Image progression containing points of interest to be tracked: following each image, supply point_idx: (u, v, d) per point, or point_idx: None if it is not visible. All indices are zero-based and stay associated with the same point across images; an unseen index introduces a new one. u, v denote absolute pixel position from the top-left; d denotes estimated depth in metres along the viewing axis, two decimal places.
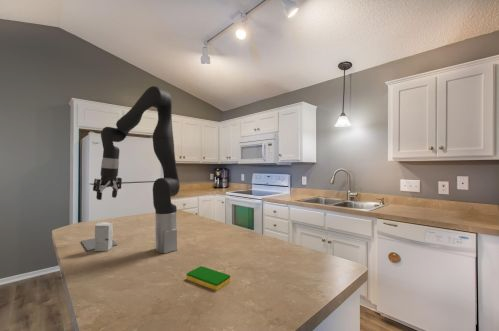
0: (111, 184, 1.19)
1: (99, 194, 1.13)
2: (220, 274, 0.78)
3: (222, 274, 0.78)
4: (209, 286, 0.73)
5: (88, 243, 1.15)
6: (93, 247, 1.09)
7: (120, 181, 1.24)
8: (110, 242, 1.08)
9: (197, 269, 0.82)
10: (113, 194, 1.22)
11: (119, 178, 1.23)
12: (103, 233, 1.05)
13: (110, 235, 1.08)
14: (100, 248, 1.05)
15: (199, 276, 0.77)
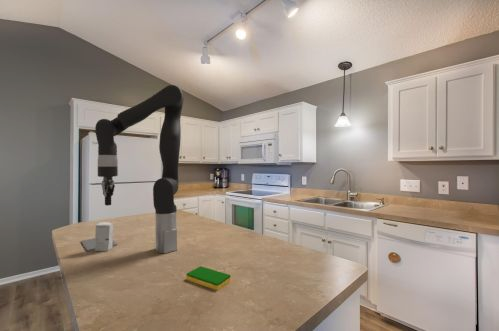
0: None
1: (110, 198, 1.02)
2: (220, 274, 0.78)
3: (222, 274, 0.78)
4: (210, 286, 0.73)
5: (88, 243, 1.15)
6: (93, 247, 1.09)
7: None
8: (110, 242, 1.08)
9: (197, 269, 0.82)
10: None
11: None
12: (104, 233, 1.05)
13: (111, 235, 1.08)
14: (100, 248, 1.06)
15: (199, 276, 0.77)
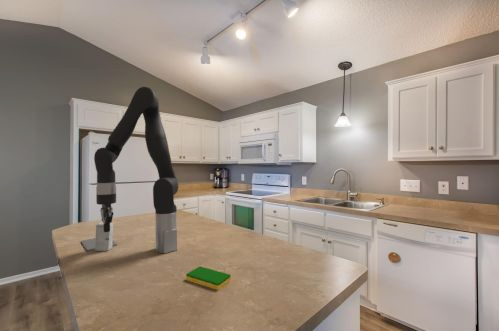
0: None
1: (109, 225, 1.03)
2: (220, 274, 0.78)
3: (222, 274, 0.79)
4: (210, 286, 0.73)
5: (88, 243, 1.15)
6: (93, 247, 1.09)
7: None
8: (110, 242, 1.08)
9: (196, 269, 0.82)
10: None
11: None
12: (104, 233, 1.06)
13: (111, 235, 1.08)
14: (100, 248, 1.06)
15: (199, 276, 0.77)
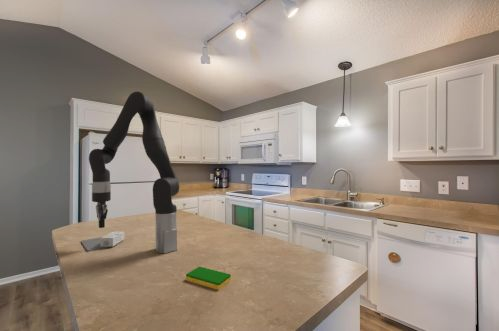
0: None
1: (103, 221, 1.10)
2: (220, 273, 0.79)
3: (222, 273, 0.79)
4: (211, 286, 0.74)
5: (88, 243, 1.15)
6: (93, 247, 1.09)
7: None
8: (116, 240, 1.13)
9: (196, 270, 0.82)
10: None
11: None
12: (116, 233, 1.18)
13: (119, 238, 1.17)
14: (107, 237, 1.11)
15: (199, 276, 0.77)
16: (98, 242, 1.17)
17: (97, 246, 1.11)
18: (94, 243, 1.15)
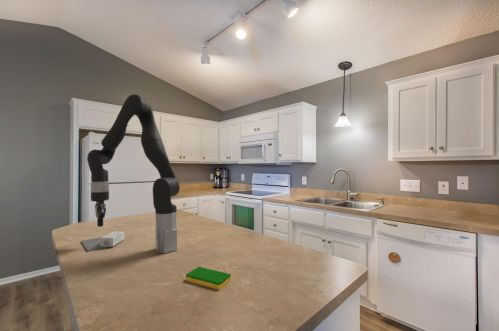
0: None
1: (102, 220, 1.13)
2: (220, 273, 0.79)
3: (222, 273, 0.79)
4: (211, 286, 0.74)
5: (88, 243, 1.15)
6: (93, 247, 1.09)
7: None
8: (116, 240, 1.13)
9: (196, 270, 0.82)
10: None
11: None
12: (116, 233, 1.18)
13: (119, 238, 1.17)
14: (107, 237, 1.11)
15: (199, 276, 0.77)
16: (98, 242, 1.17)
17: (97, 246, 1.11)
18: (94, 243, 1.15)
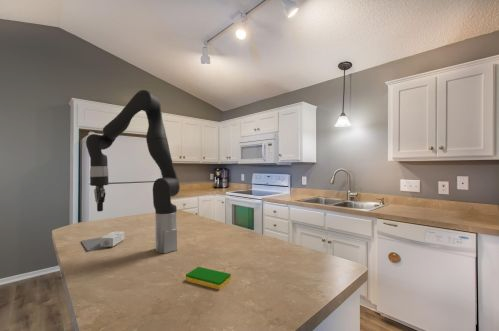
0: None
1: (102, 205, 1.13)
2: (220, 273, 0.79)
3: (222, 273, 0.79)
4: (211, 286, 0.74)
5: (88, 243, 1.15)
6: (93, 247, 1.09)
7: None
8: (116, 240, 1.13)
9: (195, 270, 0.81)
10: None
11: None
12: (116, 233, 1.18)
13: (119, 238, 1.17)
14: (107, 237, 1.11)
15: (200, 276, 0.77)
16: (98, 242, 1.17)
17: (97, 246, 1.11)
18: (94, 243, 1.15)
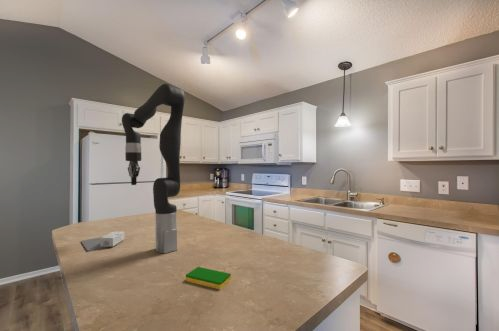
0: None
1: (135, 179, 1.22)
2: (220, 273, 0.79)
3: (222, 273, 0.79)
4: (212, 286, 0.74)
5: (88, 243, 1.15)
6: (93, 247, 1.09)
7: None
8: (116, 240, 1.13)
9: (195, 270, 0.81)
10: None
11: None
12: (116, 233, 1.18)
13: (119, 238, 1.17)
14: (107, 237, 1.11)
15: (200, 277, 0.77)
16: (98, 242, 1.17)
17: (97, 246, 1.11)
18: (94, 243, 1.15)
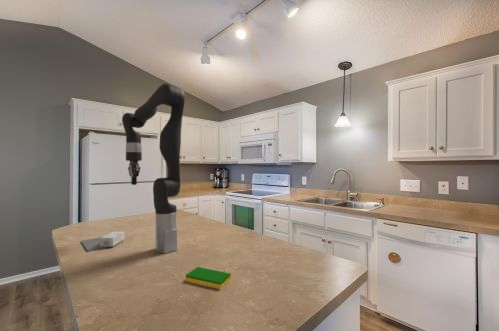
0: None
1: (136, 179, 1.22)
2: (220, 273, 0.79)
3: (222, 273, 0.79)
4: (212, 285, 0.74)
5: (88, 243, 1.15)
6: (93, 247, 1.09)
7: None
8: (116, 240, 1.13)
9: (195, 270, 0.81)
10: None
11: None
12: (116, 233, 1.18)
13: (119, 238, 1.17)
14: (107, 237, 1.11)
15: (200, 277, 0.76)
16: (98, 242, 1.17)
17: (97, 246, 1.11)
18: (94, 243, 1.15)
